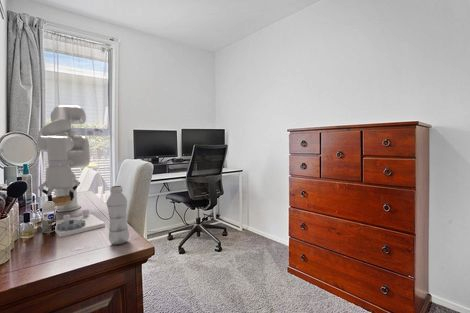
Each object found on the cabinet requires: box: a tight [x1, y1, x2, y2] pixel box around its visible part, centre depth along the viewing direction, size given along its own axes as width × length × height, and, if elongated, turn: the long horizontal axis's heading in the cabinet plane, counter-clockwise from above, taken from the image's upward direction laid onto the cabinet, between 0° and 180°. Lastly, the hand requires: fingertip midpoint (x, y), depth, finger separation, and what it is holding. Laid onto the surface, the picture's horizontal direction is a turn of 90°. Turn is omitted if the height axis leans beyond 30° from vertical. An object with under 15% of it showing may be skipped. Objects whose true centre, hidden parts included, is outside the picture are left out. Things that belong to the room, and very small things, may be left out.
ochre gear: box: [52, 195, 71, 207], centre depth 119 cm, size 7×7×3 cm
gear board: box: [54, 209, 106, 238], centre depth 110 cm, size 20×16×4 cm
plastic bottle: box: [106, 185, 130, 245], centre depth 89 cm, size 6×7×20 cm
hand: (61, 201), depth 119 cm, fingers closed on ochre gear, 7 cm apart
